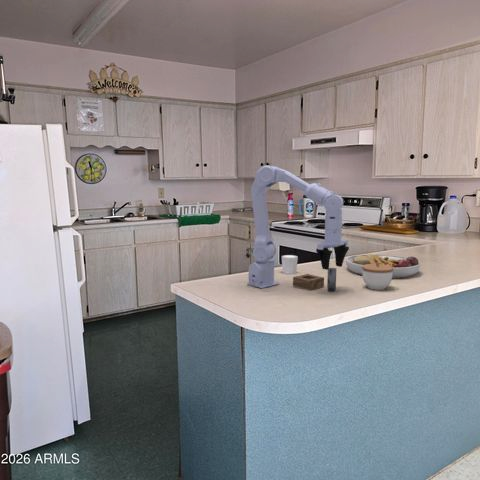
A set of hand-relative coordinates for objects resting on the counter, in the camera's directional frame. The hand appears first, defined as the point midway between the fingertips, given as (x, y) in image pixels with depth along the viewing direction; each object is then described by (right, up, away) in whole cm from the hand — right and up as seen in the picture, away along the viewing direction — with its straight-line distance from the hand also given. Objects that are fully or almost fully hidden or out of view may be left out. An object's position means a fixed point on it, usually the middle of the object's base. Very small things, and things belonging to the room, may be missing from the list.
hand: (332, 267), depth 147 cm
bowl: (+28, -4, +32) cm, 43 cm away
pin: (0, -8, +1) cm, 8 cm away
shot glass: (-12, -4, +30) cm, 33 cm away
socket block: (-7, -7, +7) cm, 12 cm away
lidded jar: (+17, -8, +5) cm, 20 cm away
